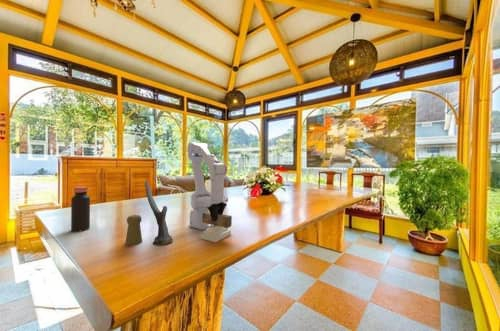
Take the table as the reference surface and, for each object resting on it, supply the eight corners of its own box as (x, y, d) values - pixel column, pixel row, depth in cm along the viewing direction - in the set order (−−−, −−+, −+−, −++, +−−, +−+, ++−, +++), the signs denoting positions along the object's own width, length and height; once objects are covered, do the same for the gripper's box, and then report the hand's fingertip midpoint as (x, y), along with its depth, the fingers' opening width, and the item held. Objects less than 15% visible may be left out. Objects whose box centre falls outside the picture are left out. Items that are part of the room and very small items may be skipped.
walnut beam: (202, 222, 94) (202, 212, 94) (206, 221, 97) (206, 211, 96) (227, 228, 87) (227, 217, 87) (231, 226, 90) (231, 216, 90)
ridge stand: (201, 238, 89) (201, 227, 89) (216, 231, 99) (217, 220, 99) (215, 242, 85) (216, 230, 85) (230, 234, 95) (230, 223, 95)
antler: (175, 238, 88) (176, 180, 87) (168, 246, 80) (169, 182, 80) (147, 238, 88) (148, 180, 87) (138, 246, 80) (139, 182, 79)
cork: (124, 246, 79) (124, 218, 79) (125, 240, 85) (126, 214, 84) (142, 243, 82) (142, 216, 82) (142, 238, 87) (142, 213, 87)
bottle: (67, 230, 95) (67, 187, 94) (84, 226, 101) (84, 185, 101) (76, 232, 92) (76, 188, 92) (93, 228, 98) (93, 186, 98)
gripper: (214, 192, 83) (213, 225, 84) (233, 188, 96) (233, 217, 96) (200, 191, 87) (200, 222, 87) (221, 187, 99) (220, 215, 100)
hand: (216, 220), depth 92 cm, fingers closed on walnut beam, 3 cm apart
